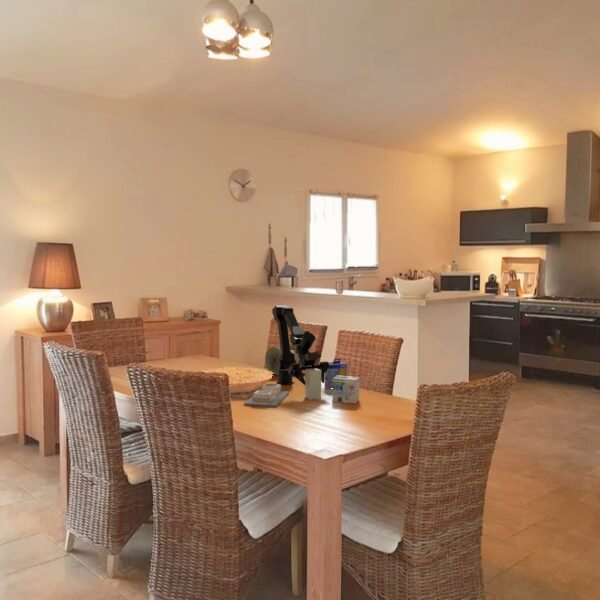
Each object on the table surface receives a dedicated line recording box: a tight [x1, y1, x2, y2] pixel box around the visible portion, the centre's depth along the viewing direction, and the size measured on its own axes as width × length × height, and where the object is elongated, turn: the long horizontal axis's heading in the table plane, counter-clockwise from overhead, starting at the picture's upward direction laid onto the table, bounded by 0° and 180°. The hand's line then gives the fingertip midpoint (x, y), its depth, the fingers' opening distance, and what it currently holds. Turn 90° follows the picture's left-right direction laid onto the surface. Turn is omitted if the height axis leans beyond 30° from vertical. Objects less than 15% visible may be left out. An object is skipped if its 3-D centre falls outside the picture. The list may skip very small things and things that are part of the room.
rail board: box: [243, 383, 290, 408], centre depth 281 cm, size 26×14×5 cm, turn 169°
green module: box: [304, 368, 322, 401], centre depth 284 cm, size 5×6×13 cm
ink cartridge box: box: [324, 358, 348, 390], centre depth 306 cm, size 10×6×14 cm, turn 115°
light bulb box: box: [331, 375, 361, 404], centre depth 279 cm, size 11×7×11 cm, turn 68°
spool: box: [264, 344, 301, 376], centre depth 341 cm, size 16×15×15 cm
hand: (314, 383), depth 283 cm, fingers open, 9 cm apart
